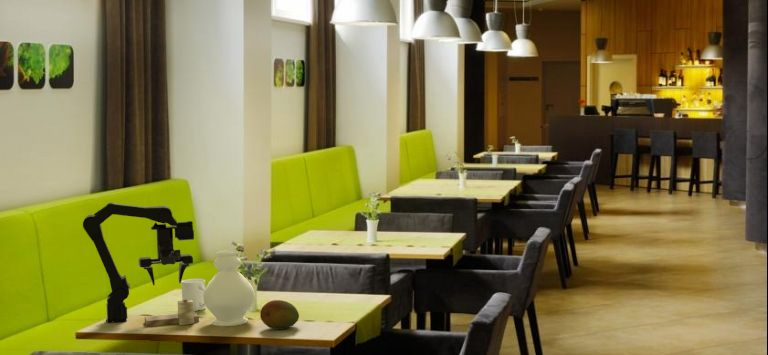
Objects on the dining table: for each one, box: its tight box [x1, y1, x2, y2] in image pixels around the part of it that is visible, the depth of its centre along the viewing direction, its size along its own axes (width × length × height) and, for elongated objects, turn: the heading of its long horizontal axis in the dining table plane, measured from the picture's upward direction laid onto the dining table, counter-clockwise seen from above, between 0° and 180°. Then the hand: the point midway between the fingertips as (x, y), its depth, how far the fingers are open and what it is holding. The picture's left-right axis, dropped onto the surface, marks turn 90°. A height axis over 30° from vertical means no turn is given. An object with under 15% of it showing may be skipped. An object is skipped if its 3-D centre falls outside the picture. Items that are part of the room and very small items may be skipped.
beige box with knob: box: [177, 299, 195, 326], centre depth 392 cm, size 5×10×8 cm, turn 19°
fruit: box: [259, 299, 300, 330], centre depth 379 cm, size 12×12×10 cm
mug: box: [181, 278, 207, 312], centre depth 413 cm, size 9×12×11 cm
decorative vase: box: [203, 249, 256, 327], centre depth 389 cm, size 18×18×25 cm
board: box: [144, 311, 200, 328], centre depth 393 cm, size 18×7×2 cm, turn 109°
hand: (166, 284), depth 400 cm, fingers open, 9 cm apart
